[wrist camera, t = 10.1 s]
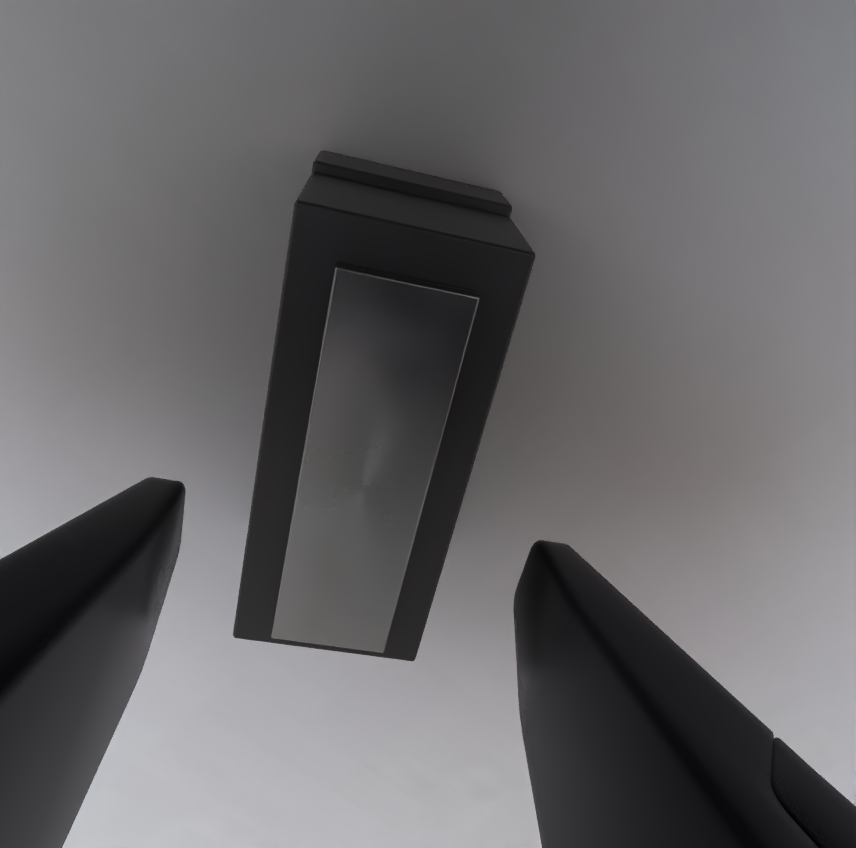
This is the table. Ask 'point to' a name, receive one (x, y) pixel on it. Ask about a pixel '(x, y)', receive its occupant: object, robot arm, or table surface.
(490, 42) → the table surface
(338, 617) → the dark box
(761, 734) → the robot arm
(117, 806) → the table surface
